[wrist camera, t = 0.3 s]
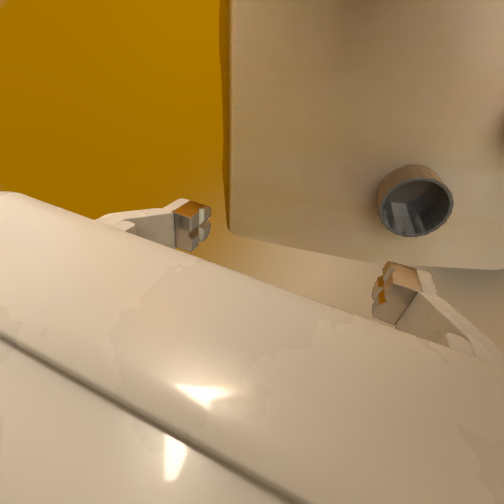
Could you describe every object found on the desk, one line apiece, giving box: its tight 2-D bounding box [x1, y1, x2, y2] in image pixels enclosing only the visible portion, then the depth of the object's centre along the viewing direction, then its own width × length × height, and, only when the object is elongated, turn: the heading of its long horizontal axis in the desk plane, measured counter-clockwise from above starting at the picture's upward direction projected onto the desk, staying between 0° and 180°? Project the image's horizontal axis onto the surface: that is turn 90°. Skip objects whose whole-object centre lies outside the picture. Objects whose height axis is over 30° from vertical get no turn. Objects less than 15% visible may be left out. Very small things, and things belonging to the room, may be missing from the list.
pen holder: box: [378, 165, 454, 237], centre depth 46 cm, size 11×11×9 cm
